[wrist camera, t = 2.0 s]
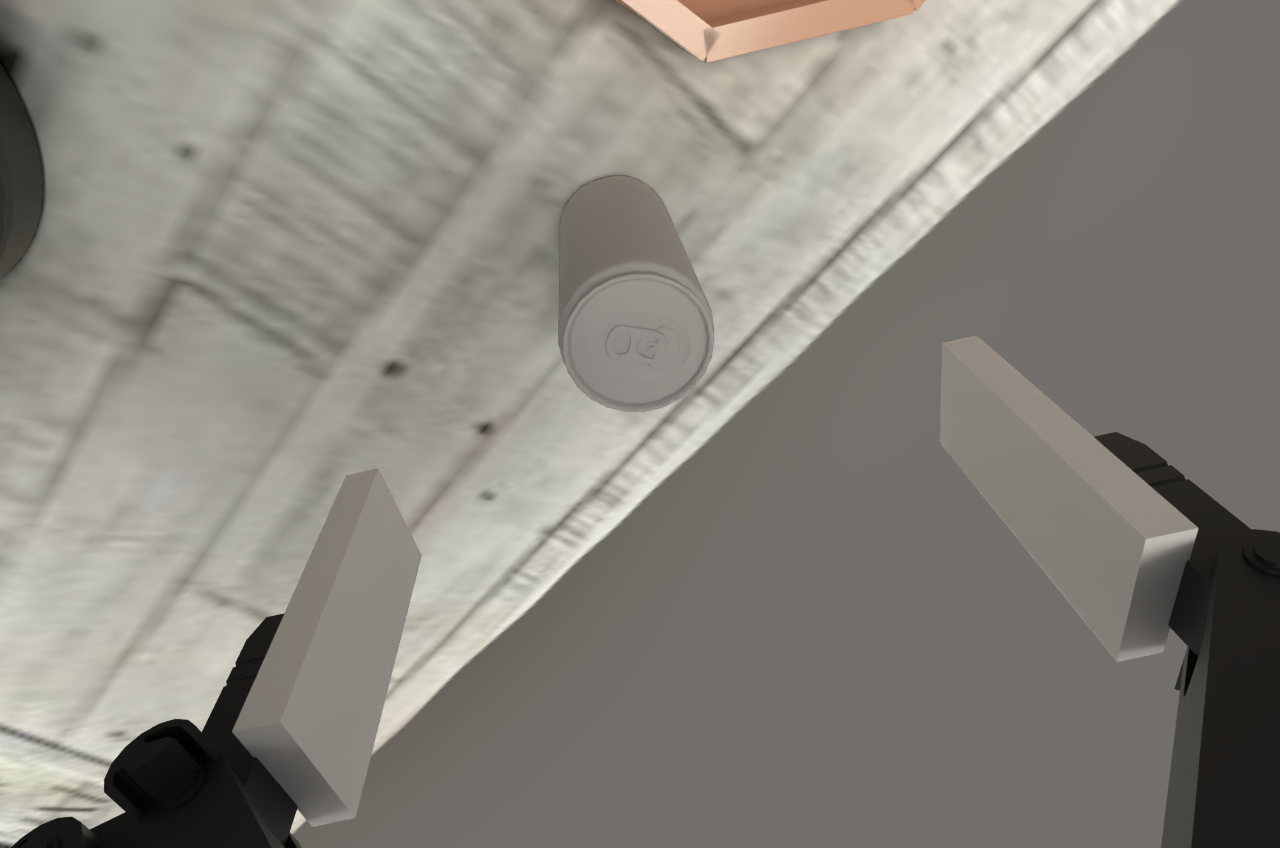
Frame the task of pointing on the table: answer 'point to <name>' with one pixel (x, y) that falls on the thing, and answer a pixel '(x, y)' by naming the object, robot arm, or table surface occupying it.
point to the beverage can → (629, 299)
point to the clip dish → (758, 21)
